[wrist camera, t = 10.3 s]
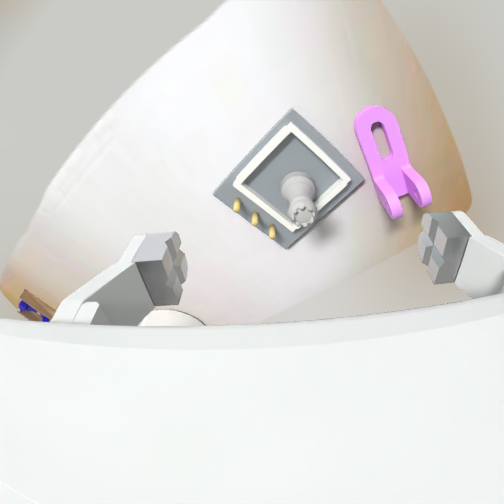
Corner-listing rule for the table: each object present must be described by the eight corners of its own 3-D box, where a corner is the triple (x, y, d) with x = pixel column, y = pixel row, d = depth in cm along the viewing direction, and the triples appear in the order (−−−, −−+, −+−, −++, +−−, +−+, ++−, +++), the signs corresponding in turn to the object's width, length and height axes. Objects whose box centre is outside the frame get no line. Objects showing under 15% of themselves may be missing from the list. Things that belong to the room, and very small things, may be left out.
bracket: (412, 185, 39) (433, 209, 33) (378, 199, 41) (395, 225, 35) (385, 99, 32) (408, 110, 27) (346, 114, 34) (363, 127, 28)
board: (285, 245, 46) (286, 259, 43) (213, 191, 41) (209, 203, 38) (362, 176, 38) (370, 187, 36) (291, 107, 34) (294, 113, 31)
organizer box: (58, 329, 63) (54, 337, 60) (22, 304, 58) (17, 311, 56) (63, 316, 59) (59, 324, 57) (25, 289, 55) (19, 296, 53)
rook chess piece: (279, 170, 38) (282, 198, 31) (315, 169, 37) (326, 198, 31) (279, 201, 40) (282, 235, 34) (313, 201, 40) (323, 235, 34)
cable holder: (25, 299, 57) (18, 311, 54) (27, 291, 56) (19, 303, 53) (52, 317, 60) (45, 330, 57) (54, 310, 59) (47, 323, 55)
